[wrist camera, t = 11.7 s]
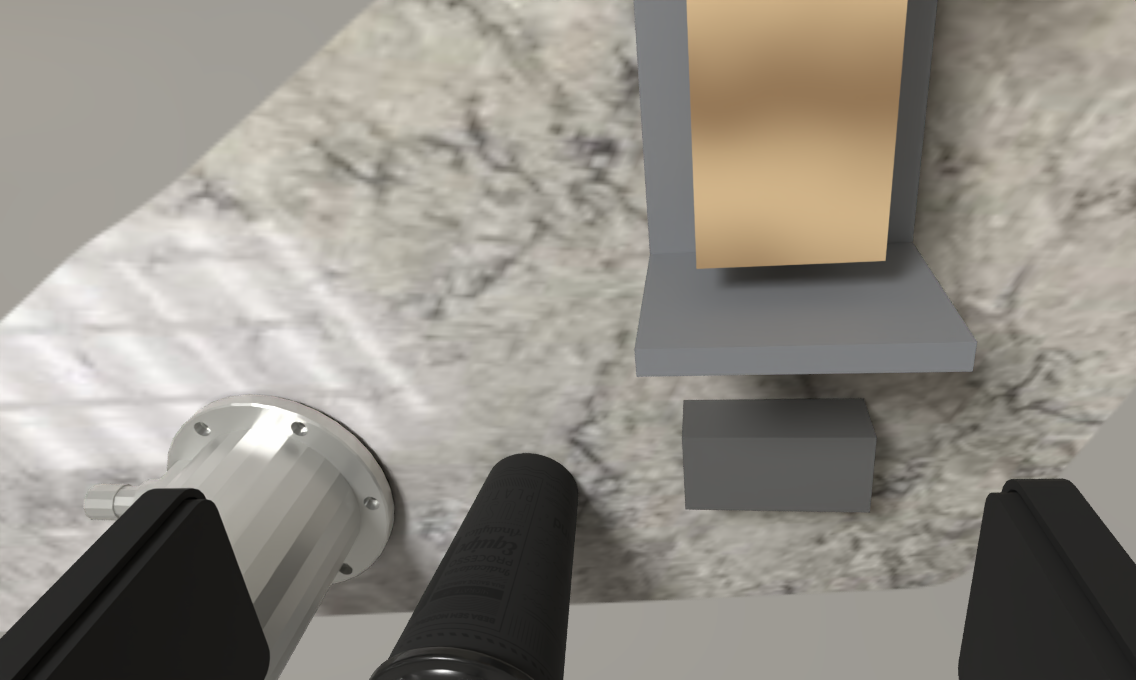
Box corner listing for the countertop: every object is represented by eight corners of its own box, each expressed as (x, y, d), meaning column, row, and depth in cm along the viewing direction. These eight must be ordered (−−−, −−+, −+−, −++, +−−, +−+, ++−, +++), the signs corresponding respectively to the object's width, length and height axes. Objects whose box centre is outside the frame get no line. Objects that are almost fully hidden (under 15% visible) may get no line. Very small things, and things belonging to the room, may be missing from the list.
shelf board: (682, -145, 22) (681, -151, 20) (904, -177, 21) (923, -185, 19) (696, 246, 28) (696, 268, 26) (873, 238, 26) (885, 261, 25)
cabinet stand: (653, 262, 33) (636, 376, 25) (623, -220, 25) (583, -289, 17) (901, 251, 31) (972, 371, 23) (952, -273, 23) (1088, -378, 15)
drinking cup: (480, 548, 43) (326, 979, 25) (445, 434, 39) (240, 843, 22) (616, 544, 41) (551, 1003, 24) (592, 425, 38) (496, 860, 20)
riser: (686, 468, 38) (685, 509, 35) (683, 400, 36) (682, 437, 33) (857, 470, 36) (869, 512, 34) (863, 398, 35) (876, 437, 32)
